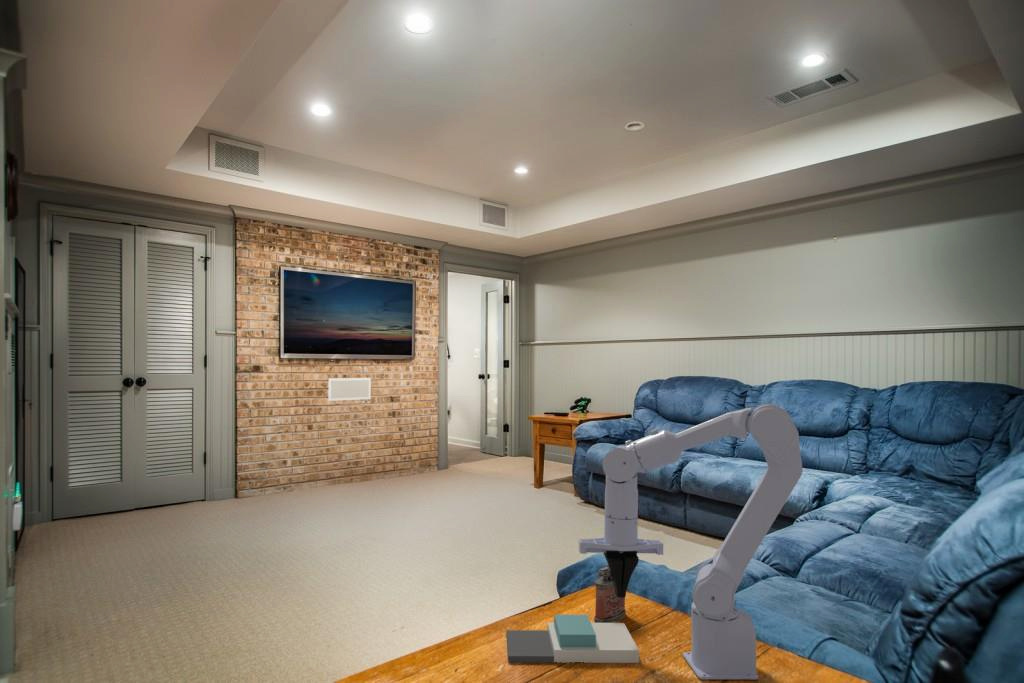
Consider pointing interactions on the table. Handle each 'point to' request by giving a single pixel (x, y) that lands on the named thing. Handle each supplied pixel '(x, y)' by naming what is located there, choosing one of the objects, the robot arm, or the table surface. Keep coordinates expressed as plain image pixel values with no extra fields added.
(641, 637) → the table surface
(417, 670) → the table surface
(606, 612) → the lighter
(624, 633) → the plinth
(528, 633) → the mat
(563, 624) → the tile
